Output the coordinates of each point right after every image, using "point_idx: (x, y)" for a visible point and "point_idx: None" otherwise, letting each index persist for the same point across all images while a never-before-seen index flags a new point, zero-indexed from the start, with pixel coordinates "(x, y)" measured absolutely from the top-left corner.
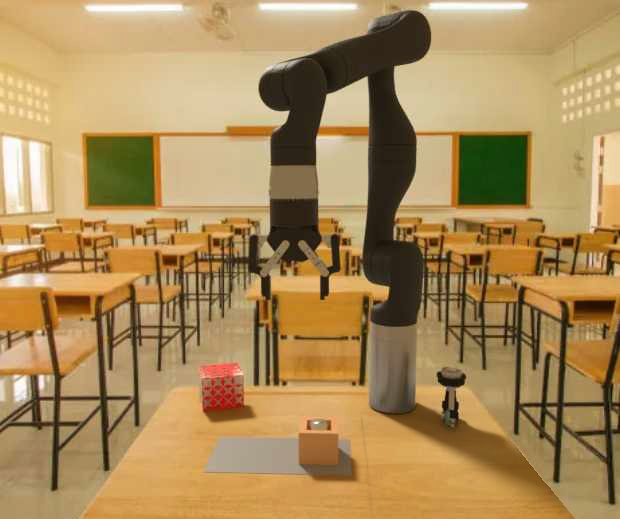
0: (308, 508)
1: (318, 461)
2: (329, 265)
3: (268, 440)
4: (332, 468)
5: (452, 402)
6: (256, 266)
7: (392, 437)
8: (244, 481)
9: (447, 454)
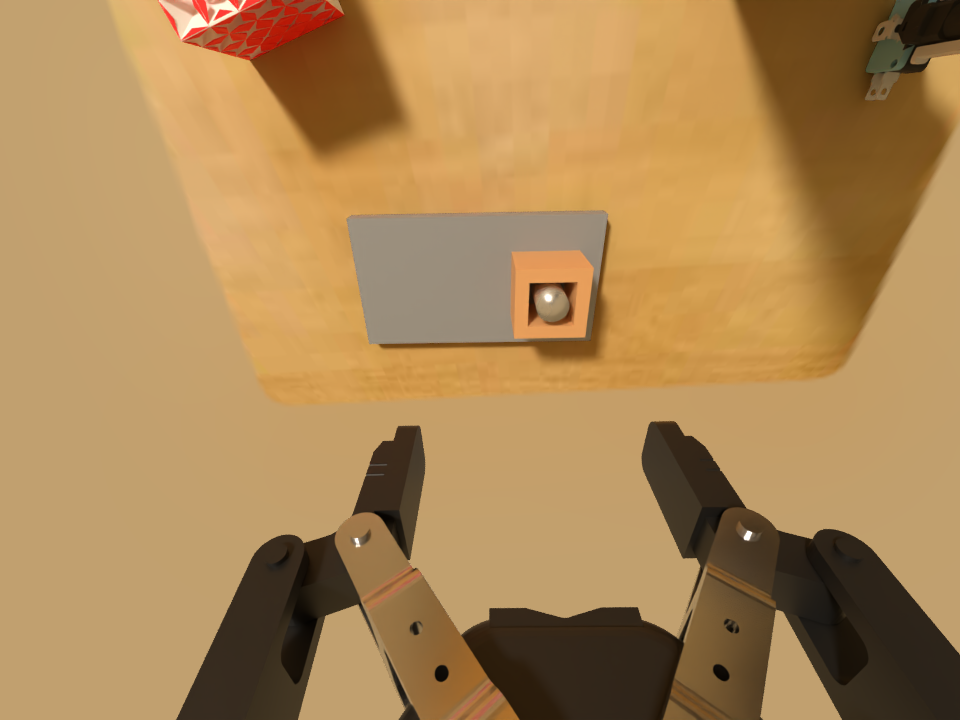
0: (525, 385)
1: None
2: (794, 578)
3: (447, 231)
4: None
5: (938, 56)
6: (320, 623)
7: (704, 153)
8: None
9: (781, 226)
